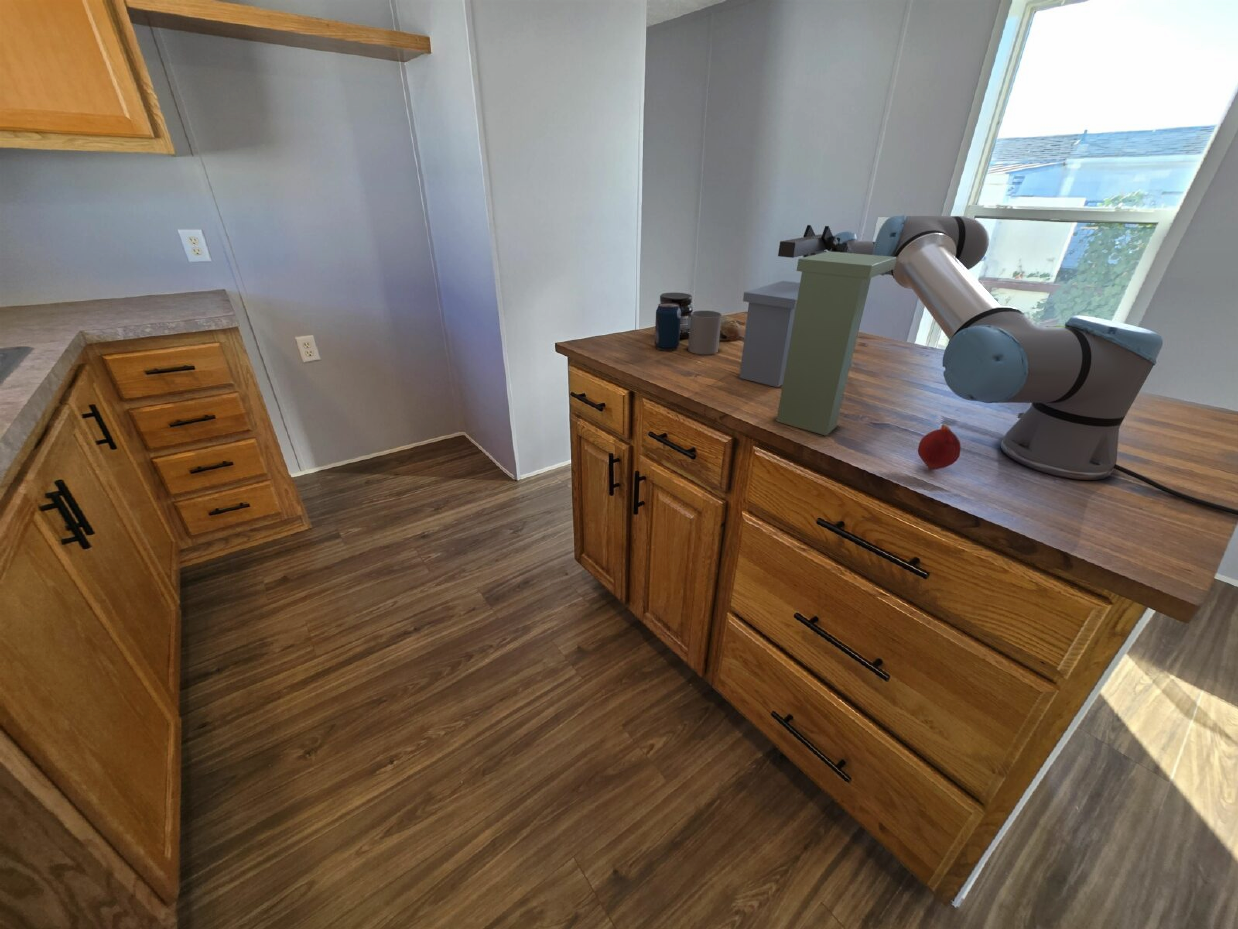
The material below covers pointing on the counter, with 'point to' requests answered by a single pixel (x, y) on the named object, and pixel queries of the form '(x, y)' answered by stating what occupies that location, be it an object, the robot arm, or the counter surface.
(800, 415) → the green capped pedestal
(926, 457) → the onion
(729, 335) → the bread roll
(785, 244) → the black bar
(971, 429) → the counter surface
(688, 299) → the supplement container
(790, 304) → the grey lidded box
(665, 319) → the soda can
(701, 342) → the cup
